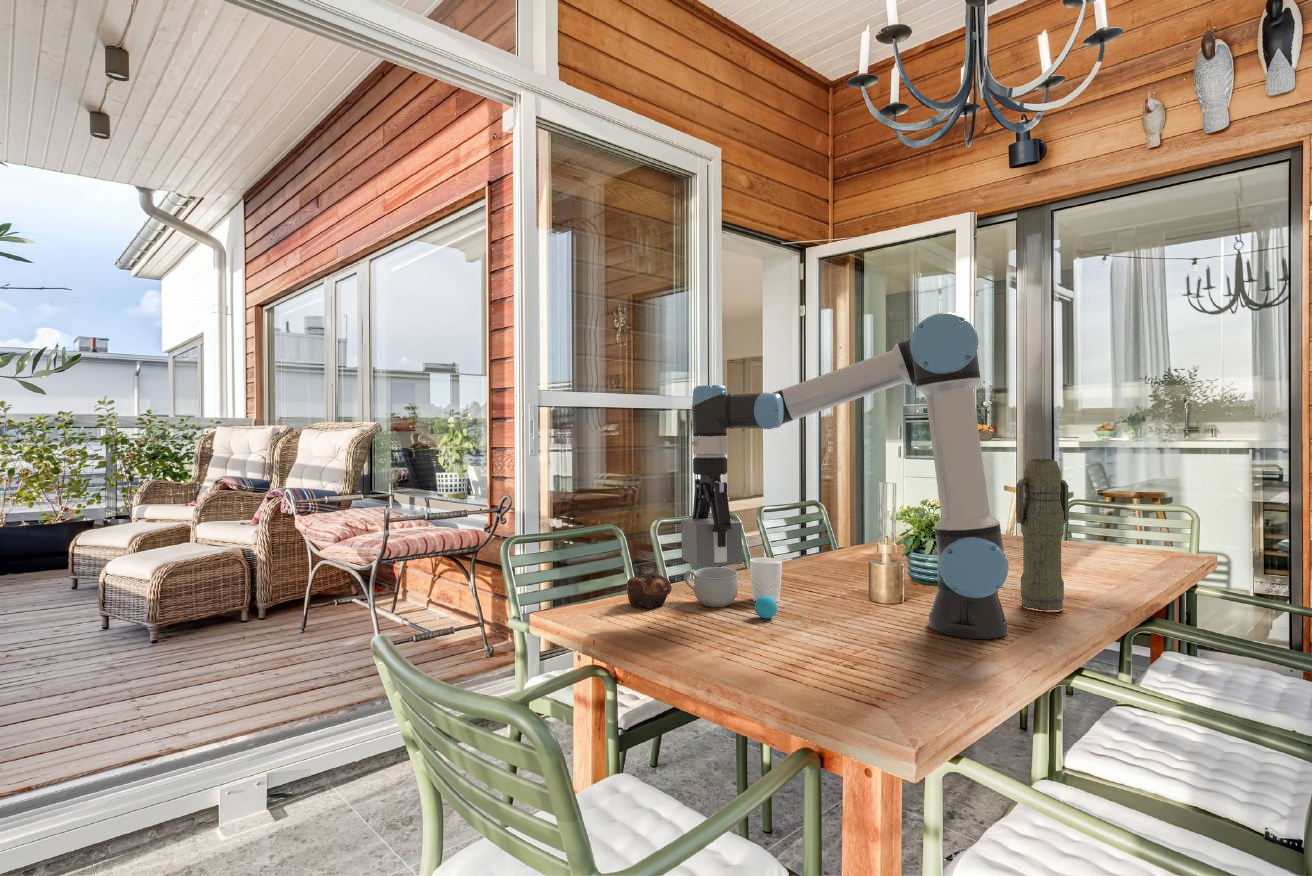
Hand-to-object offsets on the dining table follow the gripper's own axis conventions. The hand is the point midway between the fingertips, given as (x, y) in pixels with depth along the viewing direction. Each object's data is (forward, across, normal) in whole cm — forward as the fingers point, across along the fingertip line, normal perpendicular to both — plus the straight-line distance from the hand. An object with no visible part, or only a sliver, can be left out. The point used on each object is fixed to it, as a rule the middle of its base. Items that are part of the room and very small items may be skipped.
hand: (711, 557), depth 155 cm
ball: (+12, 0, +13) cm, 18 cm away
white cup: (+15, -16, +20) cm, 29 cm away
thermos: (+15, +10, +79) cm, 81 cm away
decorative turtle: (+14, -19, -9) cm, 26 cm away
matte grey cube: (+1, 0, 0) cm, 1 cm away
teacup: (+15, -17, +6) cm, 23 cm away
